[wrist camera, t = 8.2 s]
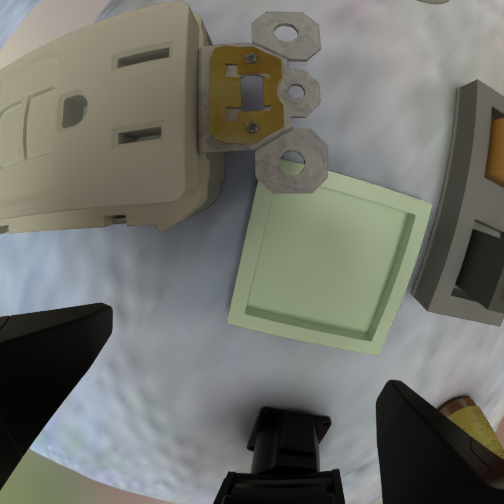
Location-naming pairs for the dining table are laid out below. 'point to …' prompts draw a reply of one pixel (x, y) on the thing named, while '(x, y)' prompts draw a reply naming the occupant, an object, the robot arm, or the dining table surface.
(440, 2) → the grey pitcher
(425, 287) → the power strip
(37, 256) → the dining table surface
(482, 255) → the twin plug
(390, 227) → the tray
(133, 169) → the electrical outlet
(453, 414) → the sauce bottle
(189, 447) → the dining table surface
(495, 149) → the plug
